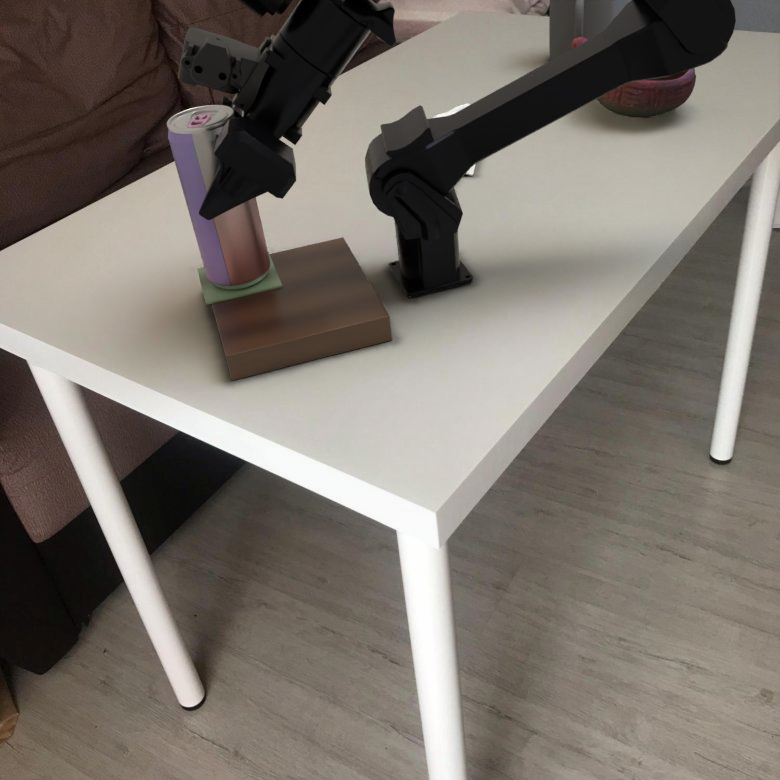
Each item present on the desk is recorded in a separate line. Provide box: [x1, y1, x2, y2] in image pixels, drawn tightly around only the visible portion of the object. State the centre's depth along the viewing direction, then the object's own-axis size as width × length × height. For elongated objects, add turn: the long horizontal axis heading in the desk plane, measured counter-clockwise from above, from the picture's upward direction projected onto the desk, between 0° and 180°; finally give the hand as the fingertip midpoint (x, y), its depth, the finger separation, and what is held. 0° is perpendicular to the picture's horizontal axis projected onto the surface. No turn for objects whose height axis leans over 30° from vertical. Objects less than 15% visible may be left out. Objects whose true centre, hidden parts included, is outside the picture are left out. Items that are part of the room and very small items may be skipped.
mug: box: [548, 0, 616, 61], centre depth 124 cm, size 14×9×12 cm
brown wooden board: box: [196, 236, 393, 381], centre depth 78 cm, size 16×14×3 cm
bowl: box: [571, 37, 697, 119], centre depth 108 cm, size 16×13×8 cm
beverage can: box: [166, 104, 271, 290], centre depth 76 cm, size 6×6×15 cm
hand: (206, 201), depth 76 cm, fingers closed on beverage can, 6 cm apart
